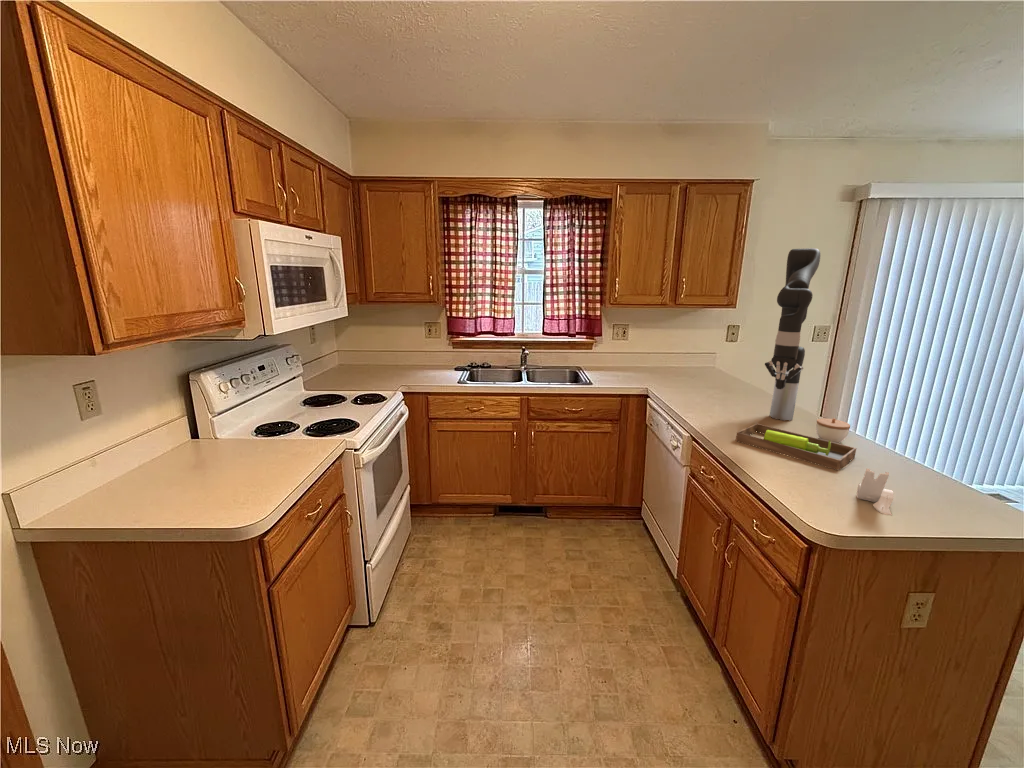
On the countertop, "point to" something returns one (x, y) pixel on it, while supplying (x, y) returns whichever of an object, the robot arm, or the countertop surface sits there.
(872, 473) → the plastic part
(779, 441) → the soap dispenser
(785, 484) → the countertop surface
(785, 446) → the wooden tray
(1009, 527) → the countertop surface
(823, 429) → the lidded jar
